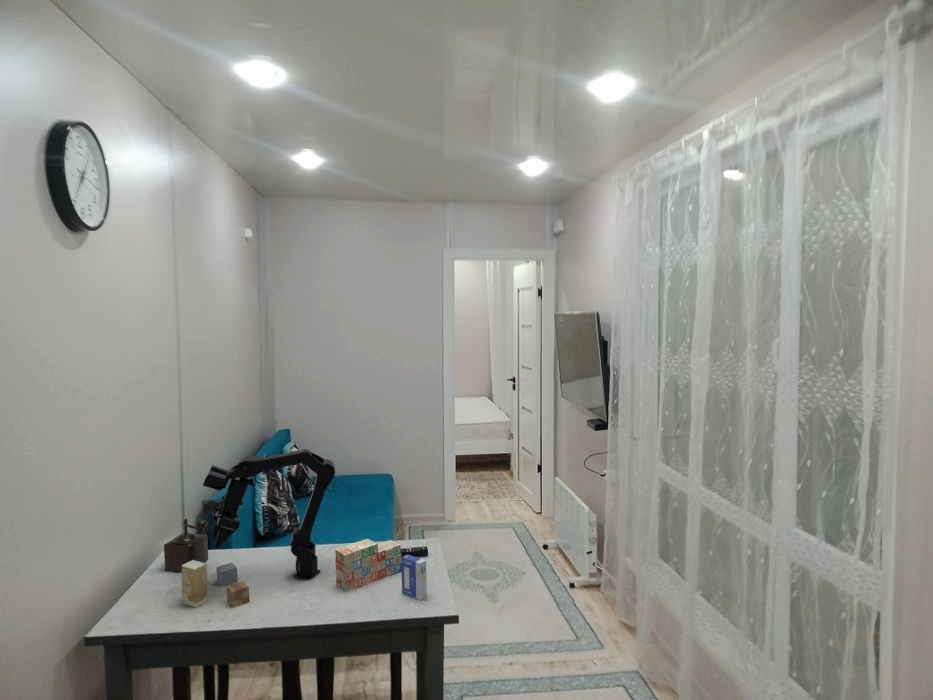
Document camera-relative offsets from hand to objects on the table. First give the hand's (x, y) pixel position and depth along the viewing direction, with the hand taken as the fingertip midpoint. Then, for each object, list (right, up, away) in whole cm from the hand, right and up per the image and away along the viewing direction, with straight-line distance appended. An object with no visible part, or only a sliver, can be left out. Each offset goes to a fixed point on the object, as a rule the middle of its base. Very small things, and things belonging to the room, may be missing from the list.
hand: (215, 543), depth 180 cm
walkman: (+63, -15, -3) cm, 65 cm away
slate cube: (+1, -15, +7) cm, 17 cm away
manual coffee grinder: (-16, -14, +19) cm, 29 cm away
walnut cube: (+10, -16, -6) cm, 20 cm away
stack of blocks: (+48, -15, +9) cm, 50 cm away
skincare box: (-3, -16, -6) cm, 18 cm away
